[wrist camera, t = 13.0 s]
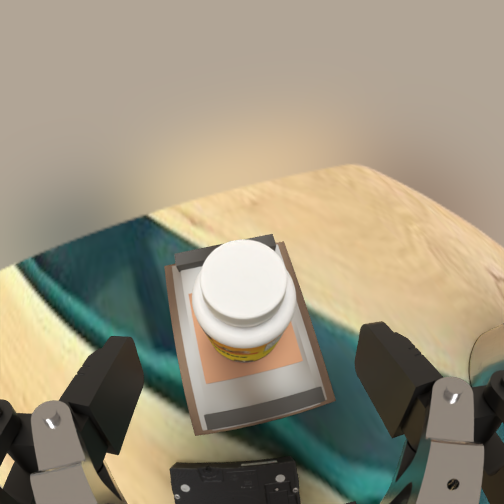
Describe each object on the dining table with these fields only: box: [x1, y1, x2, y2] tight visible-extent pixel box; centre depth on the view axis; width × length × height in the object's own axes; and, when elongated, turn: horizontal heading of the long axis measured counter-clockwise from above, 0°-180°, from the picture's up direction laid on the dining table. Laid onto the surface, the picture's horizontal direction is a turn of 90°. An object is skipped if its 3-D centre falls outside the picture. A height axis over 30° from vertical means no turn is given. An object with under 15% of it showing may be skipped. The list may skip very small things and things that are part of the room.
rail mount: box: [165, 234, 336, 436], centre depth 22 cm, size 12×16×4 cm
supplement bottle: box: [192, 240, 296, 363], centre depth 17 cm, size 6×6×10 cm
